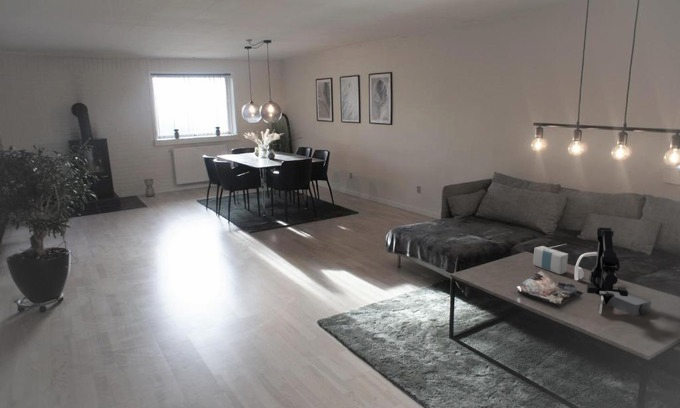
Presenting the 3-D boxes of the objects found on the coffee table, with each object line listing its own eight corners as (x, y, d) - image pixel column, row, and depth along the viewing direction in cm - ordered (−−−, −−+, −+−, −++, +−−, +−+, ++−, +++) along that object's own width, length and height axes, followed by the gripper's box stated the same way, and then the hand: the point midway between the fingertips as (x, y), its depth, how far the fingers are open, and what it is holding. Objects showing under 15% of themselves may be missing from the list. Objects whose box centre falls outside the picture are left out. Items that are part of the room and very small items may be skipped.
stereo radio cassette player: (532, 265, 314) (534, 237, 309) (540, 263, 318) (543, 235, 313) (559, 275, 296) (562, 246, 291) (567, 273, 300) (570, 243, 295)
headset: (578, 282, 284) (581, 255, 280) (570, 278, 291) (573, 251, 287) (606, 280, 288) (609, 252, 284) (598, 275, 294) (601, 249, 290)
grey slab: (599, 301, 258) (601, 289, 257) (614, 297, 263) (616, 286, 261) (636, 317, 239) (638, 304, 238) (652, 312, 244) (653, 300, 242)
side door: (599, 301, 257) (600, 292, 256) (603, 302, 256) (604, 292, 255) (597, 313, 243) (598, 303, 242) (601, 314, 242) (602, 304, 241)
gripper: (625, 273, 246) (623, 300, 250) (585, 271, 253) (584, 297, 257) (629, 281, 236) (627, 309, 240) (588, 278, 243) (586, 305, 247)
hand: (605, 305), depth 246 cm, fingers closed
